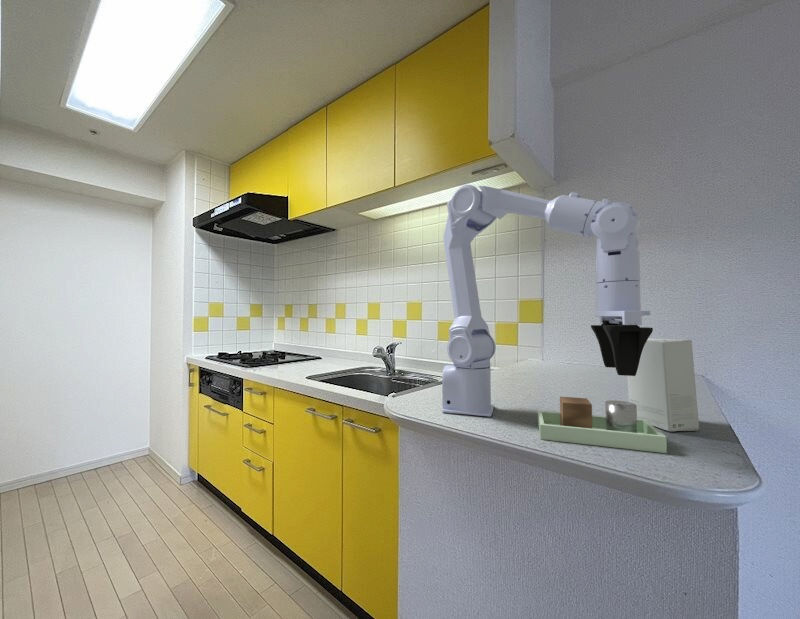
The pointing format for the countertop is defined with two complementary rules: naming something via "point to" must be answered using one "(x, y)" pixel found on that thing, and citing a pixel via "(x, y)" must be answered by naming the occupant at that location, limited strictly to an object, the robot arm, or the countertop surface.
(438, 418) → the countertop surface
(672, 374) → the skincare box
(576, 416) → the walnut block
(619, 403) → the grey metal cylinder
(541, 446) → the countertop surface
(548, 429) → the parts tray
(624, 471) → the countertop surface
